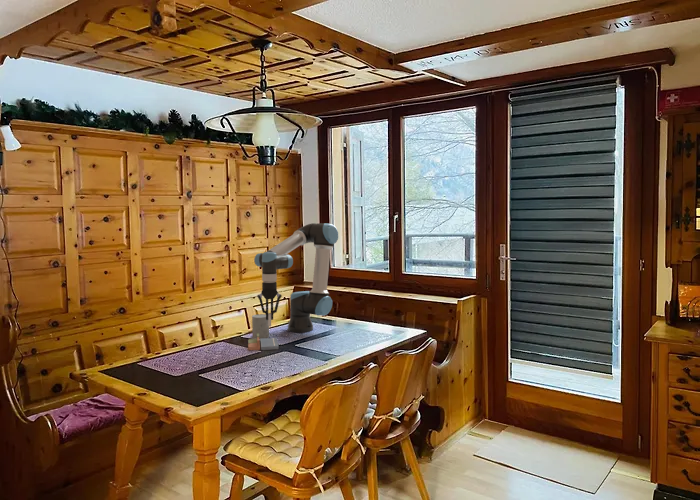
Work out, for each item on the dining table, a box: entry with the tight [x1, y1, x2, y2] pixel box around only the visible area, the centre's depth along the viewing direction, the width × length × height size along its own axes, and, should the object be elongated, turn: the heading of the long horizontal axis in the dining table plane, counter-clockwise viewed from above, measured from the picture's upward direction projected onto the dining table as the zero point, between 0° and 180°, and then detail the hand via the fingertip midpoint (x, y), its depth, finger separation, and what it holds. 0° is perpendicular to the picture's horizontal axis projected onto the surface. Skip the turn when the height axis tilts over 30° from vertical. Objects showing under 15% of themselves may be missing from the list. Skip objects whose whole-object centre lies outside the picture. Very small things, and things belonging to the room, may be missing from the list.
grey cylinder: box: [251, 313, 270, 340], centre depth 308 cm, size 10×10×12 cm
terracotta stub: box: [247, 337, 261, 351], centre depth 285 cm, size 6×8×5 cm
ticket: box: [259, 337, 280, 351], centre depth 291 cm, size 9×18×2 cm, turn 11°
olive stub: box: [247, 333, 259, 343], centre depth 293 cm, size 6×8×5 cm
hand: (269, 325), depth 285 cm, fingers closed
